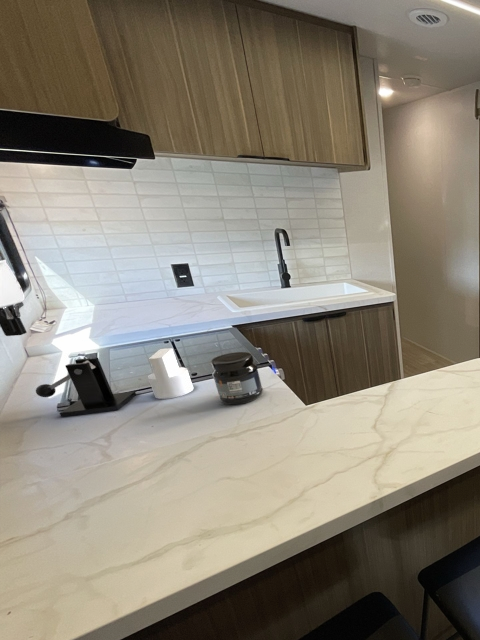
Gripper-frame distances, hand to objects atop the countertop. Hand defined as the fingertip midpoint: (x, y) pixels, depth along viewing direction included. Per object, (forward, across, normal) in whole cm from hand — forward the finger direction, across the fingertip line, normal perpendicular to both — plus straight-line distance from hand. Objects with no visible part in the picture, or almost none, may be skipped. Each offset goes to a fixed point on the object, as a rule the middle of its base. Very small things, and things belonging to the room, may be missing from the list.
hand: (16, 334), depth 98 cm
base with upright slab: (+21, -4, +26) cm, 34 cm away
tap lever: (+14, 0, +6) cm, 15 cm away
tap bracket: (+21, 0, +10) cm, 23 cm away
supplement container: (+21, +7, +46) cm, 51 cm away
